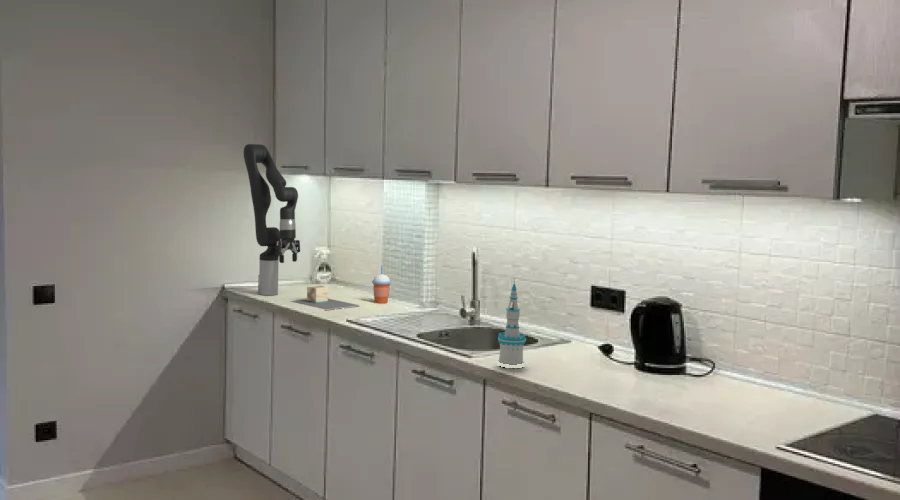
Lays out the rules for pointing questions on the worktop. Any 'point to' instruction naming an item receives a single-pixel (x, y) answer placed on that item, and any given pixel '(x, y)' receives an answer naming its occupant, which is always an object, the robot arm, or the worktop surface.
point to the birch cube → (317, 294)
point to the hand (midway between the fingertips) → (288, 262)
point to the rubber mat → (327, 304)
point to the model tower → (512, 334)
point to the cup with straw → (381, 287)
